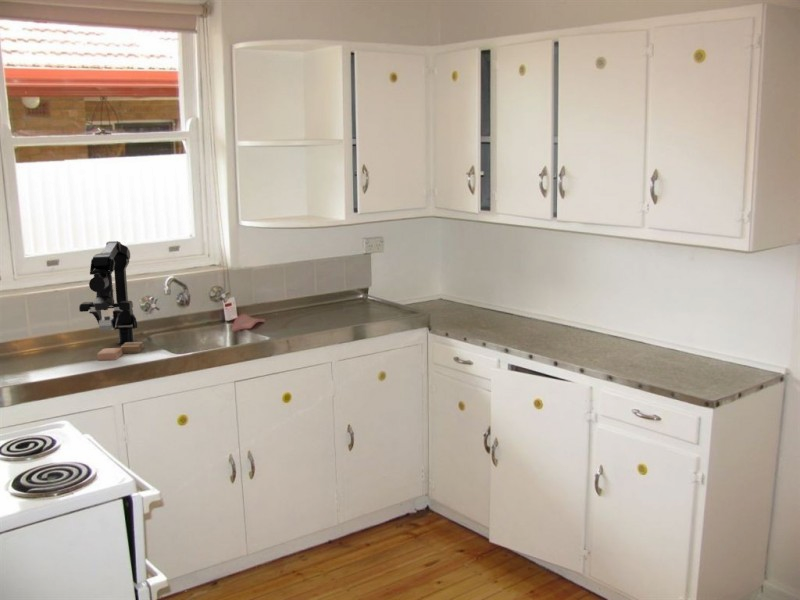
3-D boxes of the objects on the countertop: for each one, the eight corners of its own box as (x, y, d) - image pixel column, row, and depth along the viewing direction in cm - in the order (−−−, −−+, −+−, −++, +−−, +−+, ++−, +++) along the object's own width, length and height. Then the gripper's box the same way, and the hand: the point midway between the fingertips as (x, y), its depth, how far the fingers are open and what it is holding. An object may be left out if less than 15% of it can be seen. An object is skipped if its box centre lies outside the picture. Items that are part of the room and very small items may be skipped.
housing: (104, 327, 326) (103, 315, 325) (116, 326, 326) (115, 314, 326) (99, 331, 319) (98, 318, 318) (111, 330, 320) (110, 318, 319)
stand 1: (104, 354, 329) (103, 348, 328) (122, 354, 329) (121, 347, 329) (97, 360, 320) (97, 353, 320) (116, 359, 321) (116, 352, 320)
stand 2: (126, 348, 340) (125, 342, 339) (143, 347, 340) (143, 341, 340) (120, 353, 331) (120, 347, 330) (138, 352, 331) (138, 346, 331)
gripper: (73, 292, 312) (76, 333, 314) (124, 290, 313) (128, 331, 316) (81, 287, 323) (85, 327, 325) (131, 286, 324) (134, 325, 327)
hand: (108, 328), depth 323 cm, fingers closed on housing, 4 cm apart
